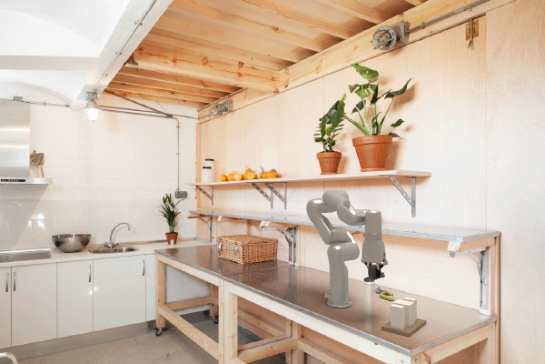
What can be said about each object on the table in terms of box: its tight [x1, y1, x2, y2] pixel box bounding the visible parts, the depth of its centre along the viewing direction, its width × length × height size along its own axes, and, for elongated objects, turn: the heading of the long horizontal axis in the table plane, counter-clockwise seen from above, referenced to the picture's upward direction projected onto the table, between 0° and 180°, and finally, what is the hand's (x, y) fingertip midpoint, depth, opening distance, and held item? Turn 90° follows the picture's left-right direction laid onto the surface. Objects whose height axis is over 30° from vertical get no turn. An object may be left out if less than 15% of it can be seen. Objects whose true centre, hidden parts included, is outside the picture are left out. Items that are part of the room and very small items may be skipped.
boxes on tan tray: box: [380, 297, 427, 338], centre depth 159 cm, size 12×19×10 cm, turn 138°
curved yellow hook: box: [375, 286, 395, 302], centre depth 208 cm, size 8×3×25 cm
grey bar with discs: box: [363, 263, 386, 283], centre depth 169 cm, size 5×16×6 cm, turn 138°
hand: (374, 277), depth 169 cm, fingers closed on grey bar with discs, 3 cm apart
